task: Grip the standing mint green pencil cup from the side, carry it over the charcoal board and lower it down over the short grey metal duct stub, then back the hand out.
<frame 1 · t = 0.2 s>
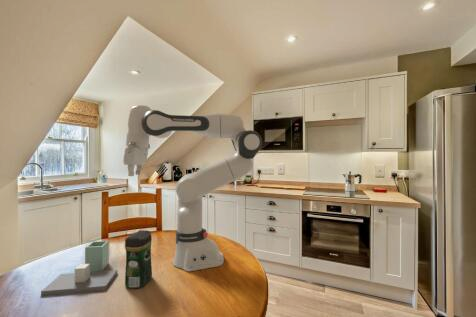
hand: (134, 175, 95), 39 cm above the table, tool pointing down, fingers open, 8 cm apart
stub board: (82, 283, 82), on the table
mint green pencil cup: (97, 267, 93), on the table
coffee jar: (138, 282, 83), on the table
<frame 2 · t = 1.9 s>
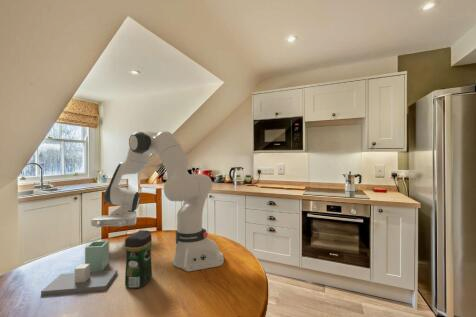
hand: (108, 225, 105), 14 cm above the table, tool horizontal, fingers open, 8 cm apart
nothing on the table moved.
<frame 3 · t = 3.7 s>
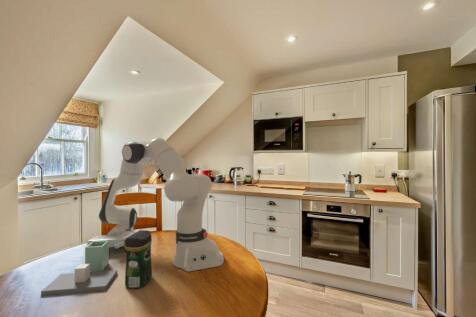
hand: (105, 247, 101), 5 cm above the table, tool horizontal, fingers open, 8 cm apart
nothing on the table moved.
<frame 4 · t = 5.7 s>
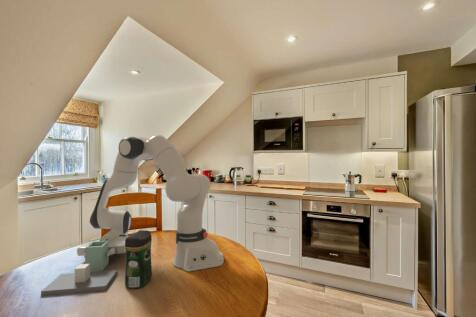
hand: (96, 255, 92), 6 cm above the table, tool horizontal, fingers closed on mint green pencil cup, 6 cm apart
mint green pencil cup: (97, 267, 93), on the table, touching gripper
everything else where it was.
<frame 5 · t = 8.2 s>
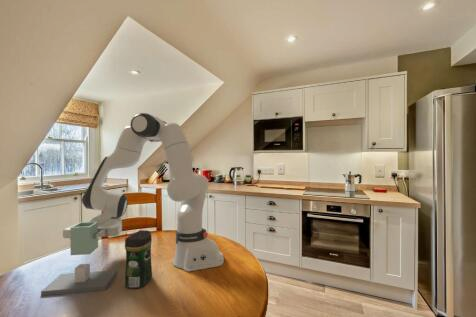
hand: (83, 237, 82), 17 cm above the table, tool horizontal, fingers closed on mint green pencil cup, 6 cm apart
mint green pencil cup: (85, 251, 83), point 11 cm above the table, touching gripper
everything else where it was.
when the fingers open (9 cm above the table, at t = 10.9 s): mint green pencil cup drops 2 cm, resting on stub board.
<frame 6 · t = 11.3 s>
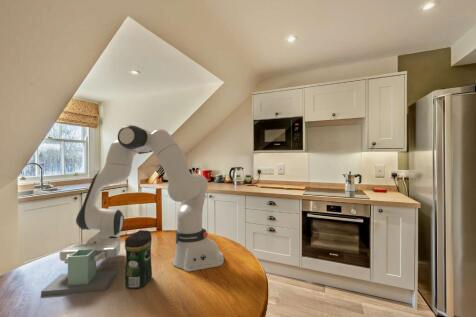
hand: (81, 260, 81), 9 cm above the table, tool horizontal, fingers open, 8 cm apart
mint green pencil cup: (82, 279, 82), point 1 cm above the table, touching stub board
everything else where it was.
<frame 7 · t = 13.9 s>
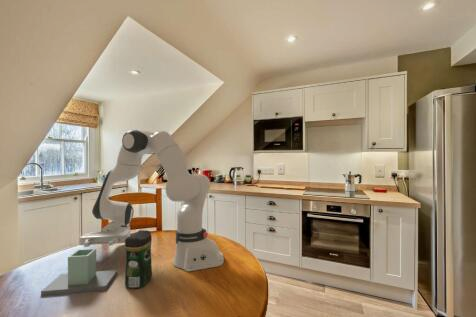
hand: (98, 244, 94), 10 cm above the table, tool horizontal, fingers open, 8 cm apart
nothing on the table moved.
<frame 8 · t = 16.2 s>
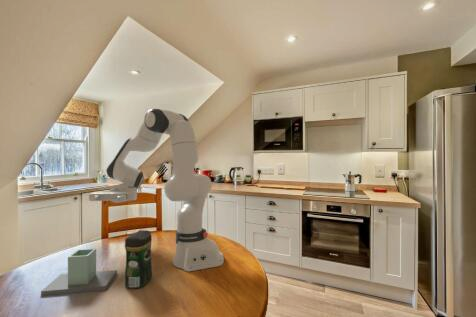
hand: (107, 198, 99), 28 cm above the table, tool horizontal, fingers open, 8 cm apart
nothing on the table moved.
at the end: mint green pencil cup 0.1 cm off-centre on the stub board, point 1.5 cm above the stub board's base; mint green pencil cup tilted 0°; the gripper is holding nothing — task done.
